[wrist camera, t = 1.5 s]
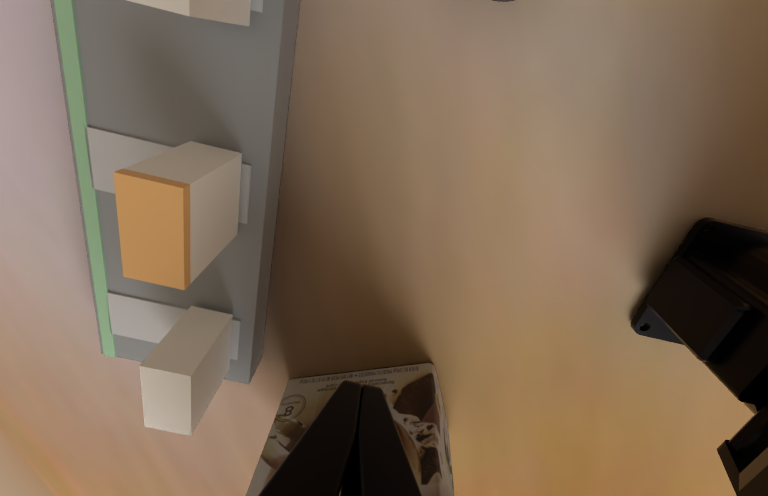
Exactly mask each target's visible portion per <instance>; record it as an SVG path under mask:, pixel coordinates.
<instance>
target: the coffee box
mask: <svg viewBox="0 0 768 496" xmlns="http://www.w3.org/2000/svg"><path fill="white" fill-rule="evenodd" d="M344 380H349V381H354V382H359V383H361V384H362V386H363V385H364V384H368V385H373V386H377V387H380V388H382V390H383V392H384V395H385V397H386V400H387V403H388V405H389V408H390V411H391V414H392V416H393V419H394V422H395V424H396V427H397V430H398V432H399V435H400V438H401V440H402V443H403V446H404V448H405V451H406V454H407V456H408V459H409V462H410V464H411V467H412V470H413V472H414V475H415V478H416V481H417V483H418V486H419V489H420V491H421V494H422V496H454V487H453V474H452V464H451V453H450V442H449V431H448V426H447V421H446V416H445V411H444V406H443V401H442V396H441V391H440V386H439V382H438V378H437V374H436V370H435V367H434V365H433V364H431V363H424V364H415V365H408V366H400V367H391V368H383V369H374V370H366V371H357V372H349V373H341V374H332V375H323V376H315V377H306V378H297V379H291V380H289V382H288V384H287V387H286V390H285V392H284V395H283V398H282V400H281V403H280V406H279V409H278V411H277V414H276V417H275V420H274V422H273V425H272V427H271V430H270V432H269V435H268V438H267V441H266V443H265V446H264V449H263V451H262V454H261V456H260V459H259V462H258V464H257V467H256V469H255V472H254V475H253V478H252V480H251V483H250V486H249V488H248V491H247V494H246V496H258V495H259V493H260V492H261V491H262V489H263V488H264V487H265V485H266V484H267V483H268V481H269V480H270V478H271V477H272V476H273V474H274V473H275V472H276V470H277V469H278V468H279V466H280V465H281V464H282V462H283V461H284V460H285V458H286V457H287V456H288V454H289V453H290V451H291V450H292V449H293V447H294V446H295V445H296V443H297V442H298V441H299V439H300V438H301V437H302V435H303V434H304V433H305V431H306V430H307V428H308V427H309V426H310V424H311V423H312V422H313V420H314V419H315V418H316V416H317V415H318V414H319V412H320V411H321V410H322V408H323V407H324V405H325V404H326V403H327V401H328V400H329V399H330V397H331V396H332V395H333V393H334V392H335V391H336V389H337V388H338V387H339V385H340V384H341V383H342V381H344ZM340 491H341V490H340ZM339 496H340V493H339Z"/></svg>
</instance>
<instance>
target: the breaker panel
mask: <svg viewBox="0 0 768 496" xmlns="http://www.w3.org/2000/svg"><path fill="white" fill-rule="evenodd" d="M51 7H52V14H53V21H54V27H55V34H56V41H57V48H58V55H59V62H60V69H61V76H62V83H63V90H64V97H65V104H66V111H67V118H68V125H69V132H70V139H71V145H72V152H73V159H74V166H75V173H76V180H77V187H78V194H79V201H80V208H81V215H82V222H83V229H84V236H85V243H86V250H87V257H88V263H89V270H90V277H91V284H92V291H93V298H94V305H95V312H96V319H97V326H98V333H99V340H100V347H101V354H104V356H108V357H113V358H116V357H120V358H125V359H130V360H135V361H140V362H143V361H144V360H145V359H146V358H147V356H148V355H149V354H150V353H151V352H152V351H153V349H154V348H155V347H156V346H157V345H158V344H159V343H160V341H161V340H162V339H163V338H164V337H165V336H166V334H167V333H168V332H169V331H170V330H171V329H172V328H173V326H174V325H175V324H176V323H177V322H178V321H179V319H180V318H181V317H182V316H183V315H184V314H185V312H186V311H187V310H188V309H189V308H190V307H191V306H195V307H199V308H204V309H209V310H213V311H218V312H222V313H227V314H232V315H233V317H232V334H231V351H230V368H229V370H228V372H227V374H226V376H225V377H224V379H226V380H230V381H235V382H240V383H245V384H249V383H250V381H251V379H252V377H253V375H254V373H255V371H256V369H257V367H258V365H259V363H260V361H261V358H262V349H263V340H264V330H265V321H266V312H267V303H268V293H269V284H270V275H271V266H272V256H273V247H274V238H275V229H276V219H277V210H278V201H279V192H280V182H281V173H282V164H283V155H284V145H285V136H286V127H287V118H288V108H289V99H290V90H291V81H292V71H293V62H294V53H295V44H296V34H297V25H298V16H299V7H300V0H251V8H250V26H243V25H237V24H231V23H225V22H219V21H214V20H208V19H202V18H196V17H190V16H186V15H182V14H178V13H174V12H170V11H166V10H162V9H158V8H154V7H150V6H147V5H143V4H139V3H135V2H131V1H127V0H51ZM190 141H193V142H197V143H201V144H205V145H210V146H214V147H218V148H222V149H226V150H231V151H235V152H239V153H242V163H241V180H240V197H239V214H238V231H237V235H236V236H235V237H234V239H233V240H232V241H231V242H230V243H229V244H228V245H227V246H226V247H225V248H224V249H223V250H222V251H221V252H220V253H219V254H218V255H217V256H216V257H215V259H214V260H213V261H212V262H211V263H210V264H209V265H208V266H207V267H206V268H205V269H204V270H203V271H202V272H201V273H200V274H199V275H198V276H197V277H196V278H195V280H194V281H193V282H192V283H191V284H190V285H189V286H188V287H187V288H186V289H185V290H181V289H177V288H172V287H168V286H163V285H158V284H154V283H149V282H145V281H140V280H136V279H131V278H127V277H123V267H122V257H121V247H120V236H119V226H118V216H117V206H116V196H115V185H114V175H113V172H115V171H117V170H120V169H122V168H125V167H127V166H130V165H132V164H135V163H137V162H140V161H142V160H145V159H147V158H150V157H152V156H155V155H157V154H160V153H162V152H165V151H167V150H170V149H172V148H175V147H177V146H180V145H182V144H185V143H187V142H190Z"/></svg>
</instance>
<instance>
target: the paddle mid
mask: <svg viewBox="0 0 768 496" xmlns="http://www.w3.org/2000/svg"><path fill="white" fill-rule="evenodd" d="M241 163H242V153H239V152H235V151H231V150H226V149H222V148H218V147H214V146H210V145H205V144H201V143H197V142H193V141H190V142H187V143H185V144H182V145H180V146H177V147H175V148H172V149H170V150H167V151H165V152H162V153H160V154H157V155H155V156H152V157H150V158H147V159H145V160H142V161H140V162H137V163H135V164H132V165H130V166H127V167H125V168H122V169H120V170H117V171H115V172H113V175H114V185H115V196H116V206H117V216H118V226H119V236H120V247H121V257H122V267H123V277H127V278H131V279H136V280H140V281H145V282H149V283H154V284H158V285H163V286H168V287H172V288H177V289H181V290H185V289H186V288H187V287H188V286H189V285H190V284H191V283H192V282H193V281H194V280H195V278H196V277H197V276H198V275H199V274H200V273H201V272H202V271H203V270H204V269H205V268H206V267H207V266H208V265H209V264H210V263H211V262H212V261H213V260H214V259H215V257H216V256H217V255H218V254H219V253H220V252H221V251H222V250H223V249H224V248H225V247H226V246H227V245H228V244H229V243H230V242H231V241H232V240H233V239H234V237H235V236H236V235H237V231H238V214H239V197H240V180H241Z"/></svg>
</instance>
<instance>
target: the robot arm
mask: <svg viewBox="0 0 768 496" xmlns="http://www.w3.org/2000/svg"><path fill="white" fill-rule="evenodd" d="M710 226H711V227H710ZM708 227H710V229H709V230H708V231H707V232H705V233H704V231H705V230H706V229H707V228H708ZM644 323H646V324H644ZM642 324H644V325H643V326H641V325H642ZM631 327H632V328H633V329H634V331H635V332H636V333H637V334H639V335H643V336H647V337H652V338H656V339H661V340H665V341H669V342H674V343H678V344H683V345H685V346H686V347H687V348H688V349H689V350H690V351H691V352H692V353H693V354H694V355H695V356H696V357H697V359H699V360H701V361H702V362H703V363H704V364H705V365H706V366H707V367H708V368H709V369H710V370H711V371H712V373H713V374H714V375H715V376H716V377H717V378H718V379H719V380H720V381H721V382H722V383H723V384H724V385H725V386H726V387H727V388H728V389H729V390H730V391H731V393H732V394H733V395H734V396H735V397H736V398H737V399H738V400H739V401H741V402H743V403H744V404H745V405H746V406H747V407H748V408H749V409H750V410H751V411H752V412H753V413H754V414H755V415H754V416H753V417H752V418H751V419H750V420H749V421H748V422H747V423H746V424H745V425H744V426H743V427H742V428H741V429H740V430H739V431H738V432H737V433H736V434H735V435H734V436H733V437H732V438H731V439H730V440H725V441H724V442H723V443H722V444H721V445H720V446H719V447H718V448H717V451H718V454H719V456H720V458H721V461H722V463H723V465H724V467H725V470H726V472H727V474H728V477H729V479H730V481H731V484H732V486H733V488H734V490H735V493H736V495H737V496H768V232H766V231H762V230H758V229H754V228H750V227H745V226H741V225H737V224H733V223H729V222H725V221H721V220H717V219H713V218H704V219H701V220H699V221H698V222H697V223H696V224H695V225H694V226H693V228H692V229H691V231H690V232H689V234H688V235H687V237H686V238H685V240H684V241H683V243H682V244H681V246H680V247H679V249H678V250H677V252H676V253H675V255H674V257H673V258H672V260H671V261H670V263H669V264H668V266H667V267H666V269H665V270H664V272H663V273H662V275H661V276H660V278H659V279H658V281H657V282H656V284H655V286H654V287H653V289H652V290H651V292H650V293H649V295H648V296H647V298H646V299H645V301H644V302H643V304H642V305H641V307H640V308H639V310H638V312H637V313H636V315H635V316H634V318H633V319H632V321H631ZM340 490H341V491H340ZM339 493H340V496H422V494H421V491H420V489H419V486H418V483H417V481H416V478H415V475H414V472H413V470H412V467H411V464H410V462H409V459H408V456H407V454H406V451H405V448H404V446H403V443H402V440H401V438H400V435H399V432H398V430H397V427H396V424H395V422H394V419H393V416H392V414H391V411H390V408H389V405H388V403H387V400H386V397H385V395H384V392H383V390H382V388H380V387H377V386H373V385H368V384H364V385H363V386H362V384H361V383H359V382H354V381H349V380H344V381H342V383H341V384H340V385H339V387H338V388H337V389H336V391H335V392H334V393H333V395H332V396H331V397H330V399H329V400H328V401H327V403H326V404H325V405H324V407H323V408H322V410H321V411H320V412H319V414H318V415H317V416H316V418H315V419H314V420H313V422H312V423H311V424H310V426H309V427H308V428H307V430H306V431H305V433H304V434H303V435H302V437H301V438H300V439H299V441H298V442H297V443H296V445H295V446H294V447H293V449H292V450H291V451H290V453H289V454H288V456H287V457H286V458H285V460H284V461H283V462H282V464H281V465H280V466H279V468H278V469H277V470H276V472H275V473H274V474H273V476H272V477H271V478H270V480H269V481H268V483H267V484H266V485H265V487H264V488H263V489H262V491H261V492H260V493H259V495H258V496H339Z"/></svg>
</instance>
